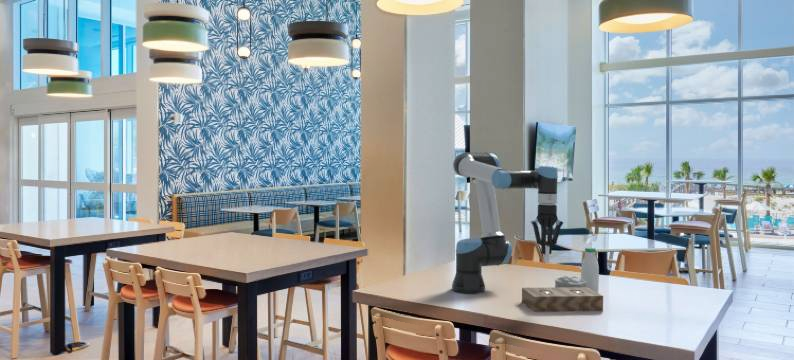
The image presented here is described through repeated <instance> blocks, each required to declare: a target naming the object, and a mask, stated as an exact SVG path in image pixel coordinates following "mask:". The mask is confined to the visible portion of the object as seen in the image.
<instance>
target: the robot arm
mask: <svg viewBox="0 0 794 360" xmlns="http://www.w3.org/2000/svg"><path fill="white" fill-rule="evenodd" d="M452 164H453V165H452V167H453V171H454V172H455V173H456V174H457V175H458V176H460V177H463V178H471V179H472V183H474V185H476V186H475V187H476V194H477V201H478V208H479V217H480V224H481V226H480V227H481V232H482V234H481V235H480V237H479V238H478V237H467V238H463V239H460V240H458V241H457V243H456V247H455V253H456V254H455V275H454V279H453V280H452V284H451V290H452V291H453V292H455V293H460V294H468V295H469V294H472V295H473V294H482V293H484V292H486V284H485V282H484V281H485V280H484V277H483V274H482V271H483V269H482V267H492V266H496V267H497V266H498V267H499V266H502V265H506V264H507V263H508V262H509V261H510V259H511V258H512V252H513V247H512V244H511V242H510V241H509V240H507V239H506V237H505V234H504V233H503V232H502V231H501V224H500V216H499V210H498V201H497V195H496V189H498V190H499V189H500V190H505V189H507V190H508V189H533V190H534V189H537V203H538V205H537V216H536V217H535V219H533V220H531V221H530V223H531V225H532V227H533V232H534V237H535V241H536V244H537V245H539V246H540V247H541V248H540V249H541V251H540V253H541V254H542V255H543V261H542V262H544V263H548V264H549V263H550V255H551V254H552V251H553V250H552V248H553V246H554V245H557V243H558V239H559V235H560V232H561V227H562V226H563V224H564V222H563V221H561V220H560V219H558V216H557V215H558V205H557V203H558V178H559V175H558V166H553V165H545V166H543V165H540V166H539V167H538V170H531V169H528V170H527V169H526V170H513V169H512V170H509V169H506V168H502V167H501V163H500V160H499V157H497V155H495V154H494V153H491V152H485V151H484V152H467V151H466V152H462V153H460V154H458V155H457V156H456V157H455V158H454V160H453V163H452ZM538 225H539V226H540V230H541V231H540V230H539V226H538ZM554 225H555V227H554ZM553 229H554V232H553ZM540 232H541V233H540Z"/></svg>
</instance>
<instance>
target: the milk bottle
mask: <svg viewBox="0 0 794 360" xmlns="http://www.w3.org/2000/svg"><path fill="white" fill-rule="evenodd" d="M596 250H597V249H596V247H585V248H584V253H585V255H584V258H583V260H582V262H581V267H580V279H582V280H583V281H586V282H587V288H589V289H591V290H593V291H595V292H597V293H599V283H600V282H599V281H600V274H599V273H600V271H599V270H600V267H599V263H598V259H597V258H596Z"/></svg>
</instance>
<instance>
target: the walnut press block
mask: <svg viewBox="0 0 794 360" xmlns="http://www.w3.org/2000/svg"><path fill="white" fill-rule="evenodd" d="M541 291H549V292H551V293H541ZM572 291H581V292H582V293H573V292H572ZM521 303H522V304H523V305H525V306H526V307H527V308H528V309H530V310H531V311H532V312H533V313H542V312H544V313H545V312H549V313H550V312H551V313H553V312H555V313H556V312H603V311H604V295H602V294H600V293H599V292H595V291H593V290H591V289H589V288H587V287H557V288H555V287H521Z"/></svg>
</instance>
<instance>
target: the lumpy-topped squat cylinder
mask: <svg viewBox="0 0 794 360" xmlns="http://www.w3.org/2000/svg"><path fill="white" fill-rule="evenodd" d="M557 287H587V282H586V281H583V280H582V279H581V277H580V278H579V277H577V276H571V277H569V276H567V275H564V276H560V277H558V278H556V279H555V280H554V288H557Z"/></svg>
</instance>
